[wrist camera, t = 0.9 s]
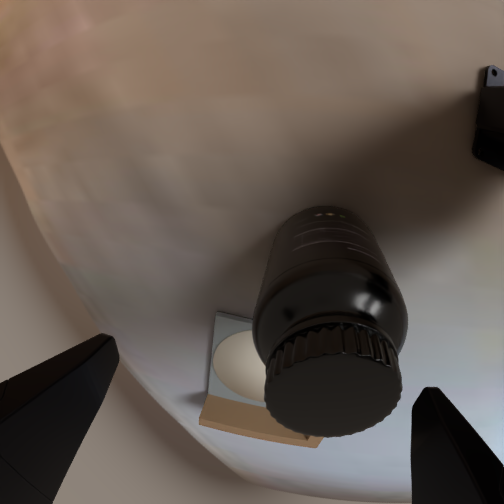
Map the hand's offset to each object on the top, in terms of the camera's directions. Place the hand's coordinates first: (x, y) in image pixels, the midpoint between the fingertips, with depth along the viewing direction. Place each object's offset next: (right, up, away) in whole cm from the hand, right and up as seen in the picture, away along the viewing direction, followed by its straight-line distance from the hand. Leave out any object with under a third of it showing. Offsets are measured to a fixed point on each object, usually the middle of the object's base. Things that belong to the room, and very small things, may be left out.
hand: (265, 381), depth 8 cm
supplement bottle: (+4, +3, +12) cm, 14 cm away
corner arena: (+2, -7, +18) cm, 19 cm away
